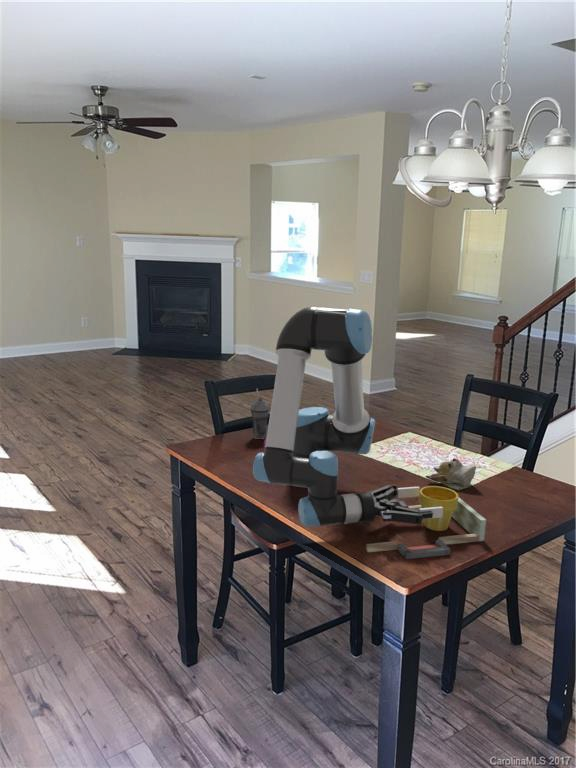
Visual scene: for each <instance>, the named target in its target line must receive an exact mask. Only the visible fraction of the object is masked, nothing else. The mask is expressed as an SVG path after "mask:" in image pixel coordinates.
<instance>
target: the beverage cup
mask: <svg viewBox="0 0 576 768" xmlns="http://www.w3.org/2000/svg"><path fill="white" fill-rule="evenodd" d="M256 397H257V399H256V400H254V401H253V402H252V404H251V407H250V414H251V419H252V435H253V438H254V437H256V438H263V437H265V438H266V436H267V428H268V427H267V426H268V425H267V424H268V417H269V413H270V412H269V411H270V408H269V404H268V402H267V401H266V400H264V399H261V398H259V397H260V396H259V388H256Z"/></svg>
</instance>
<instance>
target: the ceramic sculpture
mask: <svg viewBox="0 0 576 768" xmlns="http://www.w3.org/2000/svg"><path fill="white" fill-rule="evenodd" d="M476 469H477V466H476V465H469V466H465V465H464V464H462V462H461V461H460V460H459V459H457V458H452V460H444V461H443V462H441V463H440V464H439V466H438V468H437V467H433V470H434V471H435V472H436V473H432V474H430V475H425V478H426V479H429V480H431V481H432V482H435V483H446V484H460V485H462V486H463V487H464V488H466V487H469V486H470V485H471V483H472V481H473V479H474V478H475V474H476Z"/></svg>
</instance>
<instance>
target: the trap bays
mask: <svg viewBox="0 0 576 768" xmlns="http://www.w3.org/2000/svg"><path fill="white" fill-rule="evenodd" d="M389 502H391V503H394V504H396V506H400V507H405V508H407V507H408V506H409V505H407V504H406V503H405V501H403V500H402V498H393V499H392V500H390V501H389ZM397 550H398V551H399V553H400V555H402V556H403V558H404V559H405V560H411V559H419V558H420V559H421V558H431V557H432V558H433V557H439V556H449V555H451V548H450V547H449V546H448V544H447V545H446V544H445V543H444V542H443V541H442V540H438V539H437V540H435V544H430V545H417V546H409V547H407V546H406V544H405V543H398V549H397Z"/></svg>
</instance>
